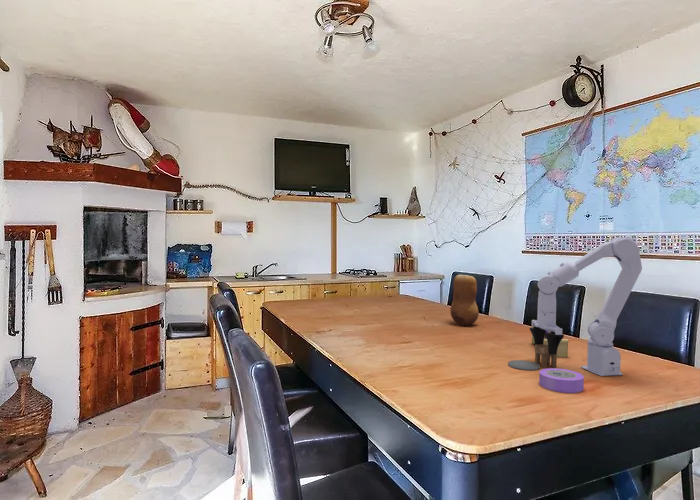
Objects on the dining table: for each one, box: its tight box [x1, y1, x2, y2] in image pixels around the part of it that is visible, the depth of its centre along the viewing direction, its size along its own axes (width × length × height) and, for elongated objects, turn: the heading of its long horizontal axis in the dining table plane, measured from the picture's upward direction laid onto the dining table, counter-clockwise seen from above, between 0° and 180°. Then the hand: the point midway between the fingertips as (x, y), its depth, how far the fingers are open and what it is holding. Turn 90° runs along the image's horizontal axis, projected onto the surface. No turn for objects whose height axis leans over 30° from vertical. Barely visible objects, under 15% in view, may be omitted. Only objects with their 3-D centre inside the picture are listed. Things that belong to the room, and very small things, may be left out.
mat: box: [507, 359, 541, 372], centre depth 149 cm, size 10×10×1 cm
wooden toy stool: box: [534, 344, 558, 369], centre depth 150 cm, size 5×5×6 cm
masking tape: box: [538, 367, 585, 394], centre depth 129 cm, size 12×12×4 cm
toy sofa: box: [531, 325, 569, 358], centre depth 170 cm, size 21×9×10 cm, turn 170°
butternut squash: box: [450, 274, 480, 327], centre depth 219 cm, size 14×13×25 cm
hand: (545, 351), depth 150 cm, fingers open, 7 cm apart
